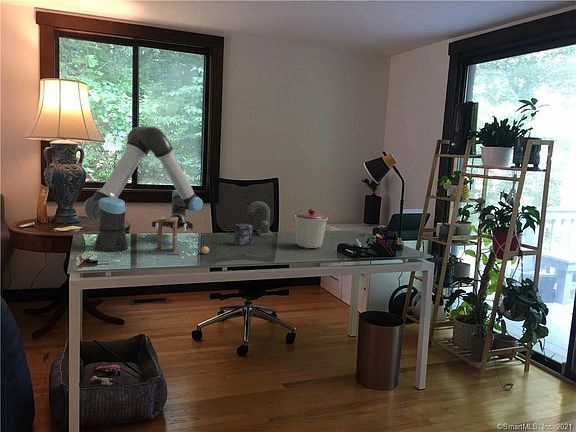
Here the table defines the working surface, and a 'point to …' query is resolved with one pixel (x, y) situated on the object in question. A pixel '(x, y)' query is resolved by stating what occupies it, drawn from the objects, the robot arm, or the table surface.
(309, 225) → the canister
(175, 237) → the wooden open frame
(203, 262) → the table surface
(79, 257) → the table surface
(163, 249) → the mat
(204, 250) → the ball
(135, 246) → the table surface
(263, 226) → the faucet
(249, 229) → the box
